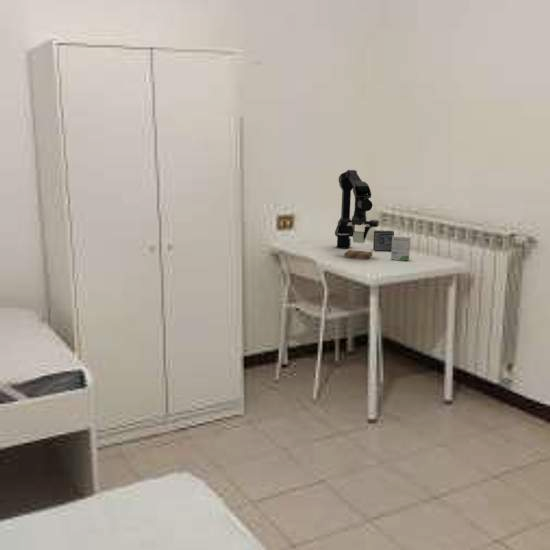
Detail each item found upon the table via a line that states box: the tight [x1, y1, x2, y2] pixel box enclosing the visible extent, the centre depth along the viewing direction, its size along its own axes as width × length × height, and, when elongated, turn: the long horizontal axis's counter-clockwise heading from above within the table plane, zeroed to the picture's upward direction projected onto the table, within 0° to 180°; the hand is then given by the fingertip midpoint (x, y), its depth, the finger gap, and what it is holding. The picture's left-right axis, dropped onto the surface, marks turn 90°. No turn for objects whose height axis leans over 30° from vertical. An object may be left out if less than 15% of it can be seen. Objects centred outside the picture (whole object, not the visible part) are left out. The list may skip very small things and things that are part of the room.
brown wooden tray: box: [344, 249, 373, 260], centre depth 359 cm, size 12×10×2 cm
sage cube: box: [352, 230, 366, 244], centre depth 357 cm, size 5×5×5 cm
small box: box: [372, 229, 395, 252], centre depth 378 cm, size 11×6×10 cm, turn 84°
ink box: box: [390, 235, 411, 261], centre depth 352 cm, size 9×5×12 cm, turn 71°
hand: (359, 239), depth 357 cm, fingers closed on sage cube, 5 cm apart
